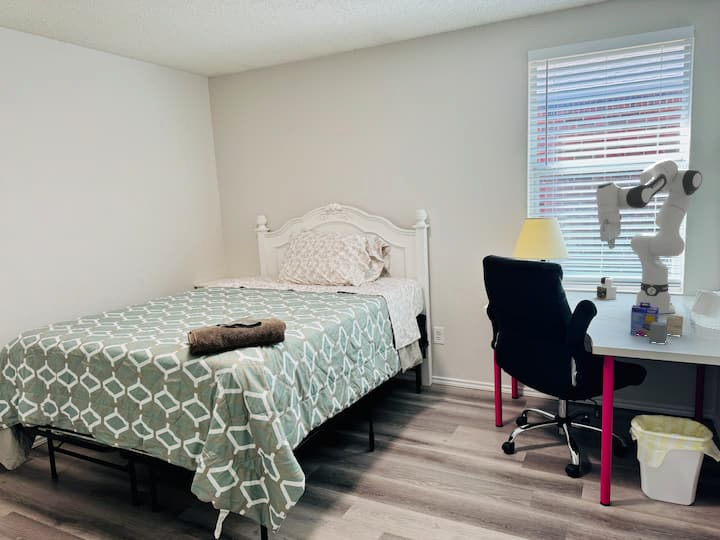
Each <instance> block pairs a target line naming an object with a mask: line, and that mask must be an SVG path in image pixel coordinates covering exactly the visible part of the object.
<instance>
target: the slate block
mask: <svg viewBox="0 0 720 540" xmlns="http://www.w3.org/2000/svg"><path fill="white" fill-rule="evenodd" d="M667 337H668V336H667V322H662V321H658V322H656V321H653V322H652V323H651V325H650V337H649V343H650V342H656V343H665V341H666V340H668V339H667ZM666 342H667V341H666ZM665 344H666V343H665Z"/></svg>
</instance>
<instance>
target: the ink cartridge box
mask: <svg viewBox="0 0 720 540" xmlns="http://www.w3.org/2000/svg"><path fill="white" fill-rule="evenodd" d="M642 304H648V305H642ZM630 312H631V313H630V333H631V334H639V335H647V336H650V325H651V323H652V322H653V321H656V322H659V315H660V314H659V308H658V307H651V306H650V303H644V302H640V305H636V304H633V305H632V307H631V311H630ZM630 333H629V334H630Z"/></svg>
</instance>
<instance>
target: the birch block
mask: <svg viewBox="0 0 720 540" xmlns="http://www.w3.org/2000/svg"><path fill="white" fill-rule="evenodd" d="M683 322H684V316H683V315H676V314H669V315H668V316H666V323H667V334H671V335H681V334H682V335H683V325H684V323H683ZM682 335H681V336H682Z"/></svg>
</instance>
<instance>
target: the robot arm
mask: <svg viewBox="0 0 720 540" xmlns="http://www.w3.org/2000/svg"><path fill="white" fill-rule="evenodd" d="M639 181H640V184H639V185H635V186H626V187H625V186H624V187H622V186H618V185H617V184H616V183H615V182H614V181H610V182H609V181H608V182H605V183H602V184H601V183H600V184H599V185H598V186H597V188H596V194H595V196H596V197H595V198H596V205H597V210H598V211H597V216H598V217H597V218H598V224H601V225H600V226H599V234H600V241H601V242H606V243H607V246H608V249H609V250H612V249H614V248H615V247H616V245H615V243H616V238H617V237H619V236H621V232H622V231H621V230H622V229H621V228H622V226H621V225H622V224H621V223H622V222H621V220H622V215H621V213H620V210H622V209H623V210H624V209H643V208H645V207H646V206H648V204H649V203H650V201H651V200H652V199H653V197H654V196H655V195H657V194H658V193H659V192H668V196H667V197H666V199H665V200H664V202H663V203H662V205H661V207H660V209H659V211H658V212H657V213H658V214H657V215H656V217H655V220H654V221H655V224H656V226H657V227H658V228H659V231H658V232H657V233H656V232H655V233H653V232H651V233H650V232H644V233H637V234H634V236H633V237H632V238H631V241H630V247H631V250H632V251H633V252H634V253H635V255H636V256H637V257H638V259H639V262H640V264H641V275H642V276H641V282H640V291H638V292H637V293H636V300H635V301H636V302H635V305H640V302H644V303H650V306H651V307H658V308H659V314H658V315H660V314H675V313H676V310H675V304H673V302H671V297H672V296H671V295H670V293H669V287H670V285H669V283H668V280H669V277H668V276H669V269H668V266H667V265H666V264H664V263H663V262H662V260H661V259H660V258H661V257H665V258H671V257H672V258H673V257H678V256H680V255H681V254H682V253H683V252H684V250H685V244H686V243H685V241H684V238H682V237H681V235H680V227H681V225H682V223H683V220H684V219H685V216H686V214H687V211H688V209H689V206H690V204H691V199H692V197H691V196H692V195H694V193H695V192H696V191H697V190H698V189H700V187H701V185H702V183H703V176H702V174H701V172H700V170H696V169H692V168H689V169H688V168H679V166H678V164H677V162H676V161H675V160H673V159H670V158H667V159H666V158H665V159H663V160H659V161H657V162H655V163H653V164H651V165H650V166H648V167H646V168H644V170H643V171H642V172H641V173H640V176H639ZM642 305H648V304H642Z"/></svg>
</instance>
